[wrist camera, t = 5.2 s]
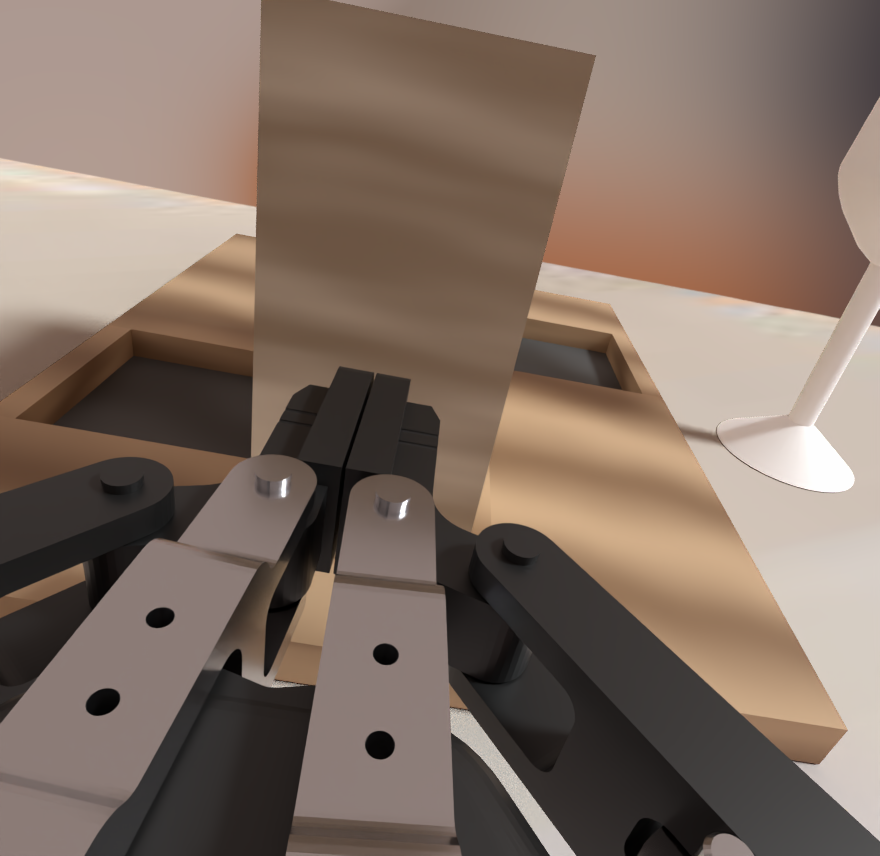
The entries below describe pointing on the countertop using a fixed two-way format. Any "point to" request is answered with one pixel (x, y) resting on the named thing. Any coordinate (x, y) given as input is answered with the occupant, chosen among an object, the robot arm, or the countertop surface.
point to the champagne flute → (794, 436)
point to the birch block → (404, 214)
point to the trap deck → (505, 488)
